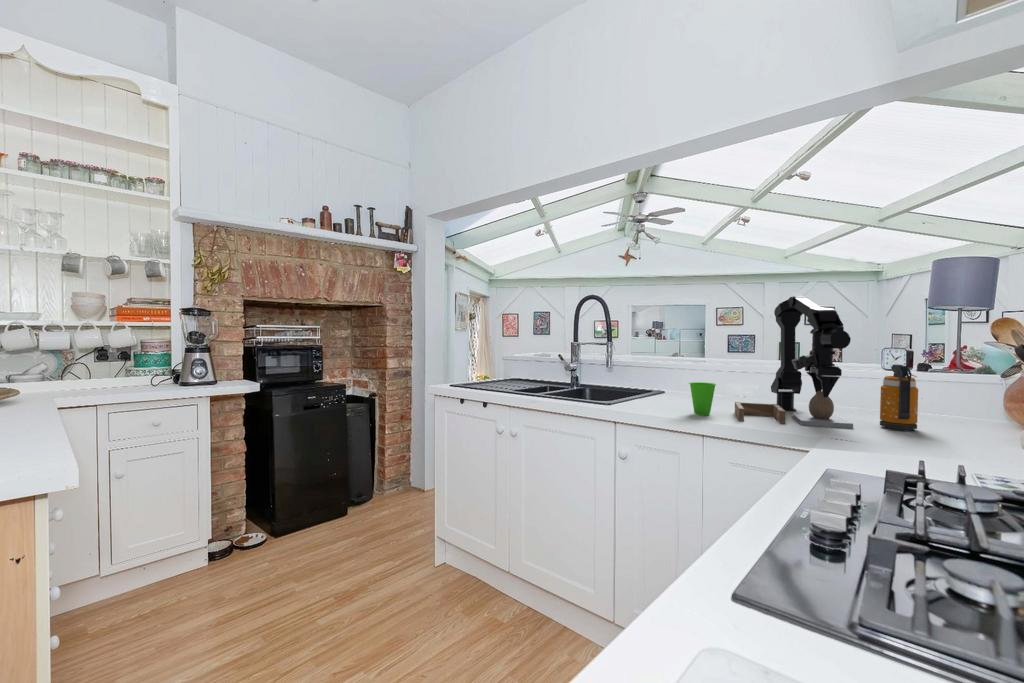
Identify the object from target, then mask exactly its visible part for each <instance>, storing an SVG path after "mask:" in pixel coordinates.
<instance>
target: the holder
mask: <svg viewBox="0 0 1024 683" xmlns="http://www.w3.org/2000/svg"><path fill="white" fill-rule="evenodd" d="M786 412H787V410H783V409H782V408H781V407H780V406H779V405H778V404H777V403H764V402H763V403H761V402H759V403H758V402H745V401H744V402H743V401H742V402H741V401H739V402H738V401H734V414H735V416H736V418H737V420H738V421H739V420H742V422H743V421H745V415H749V414H751V416H752V415H753V416H768V417H774V419H775V420H776V421H777V422H778V423H779V424H786Z"/></svg>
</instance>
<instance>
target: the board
mask: <svg viewBox="0 0 1024 683" xmlns="http://www.w3.org/2000/svg"><path fill="white" fill-rule="evenodd" d="M791 418H792V419H793V421H796V422H797V423H798V424H799V425H800V426H812V427H826V428H839V429H841V428H842V429H854V423H853V422H852V421H850V420H847V419H846V418H844V417H842V416H841V415H834V414H832V416H831V417H830V418H829V419H817V418H814V417H813V416H812V415H811V414H810V413H800V412H799V413H798V412H797V413H796V412H792V413H791Z"/></svg>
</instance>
